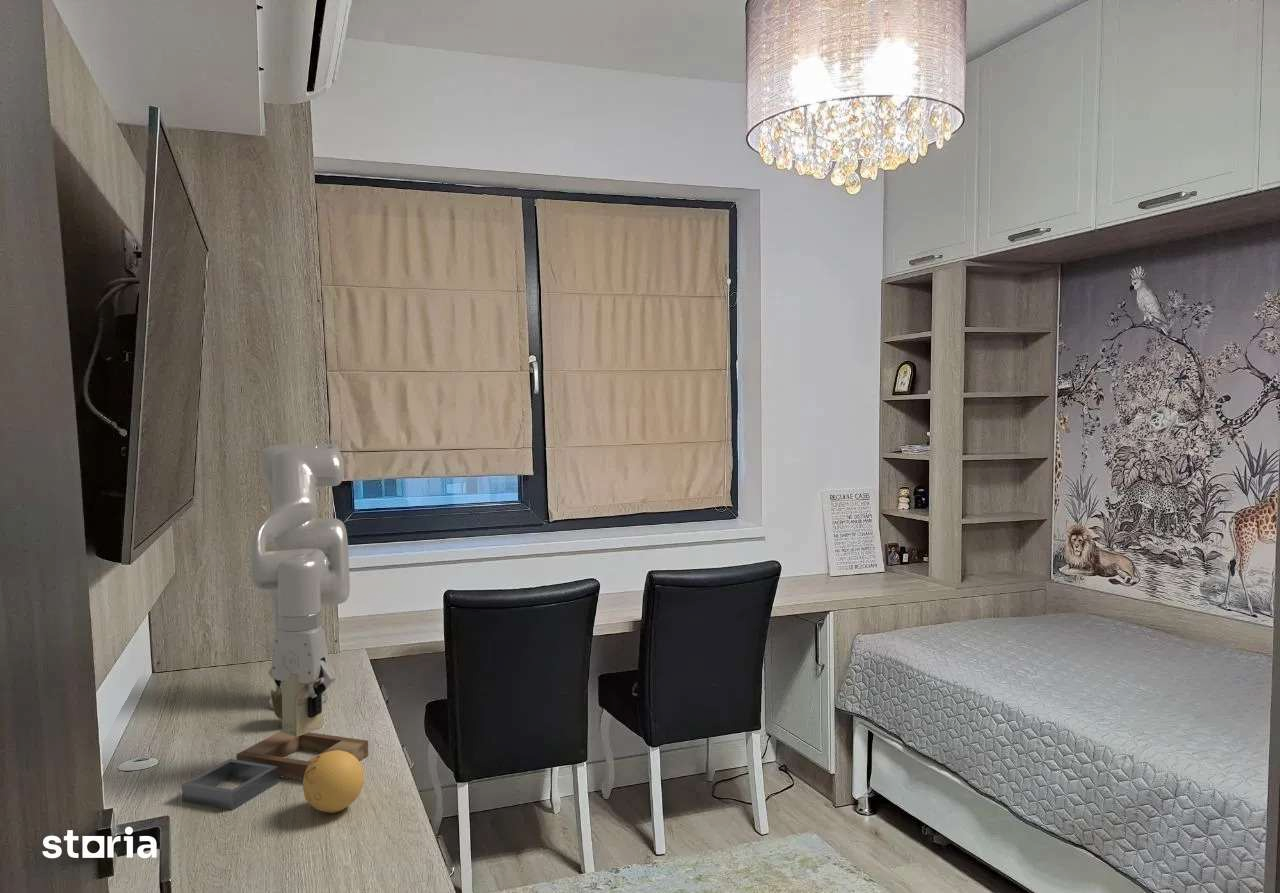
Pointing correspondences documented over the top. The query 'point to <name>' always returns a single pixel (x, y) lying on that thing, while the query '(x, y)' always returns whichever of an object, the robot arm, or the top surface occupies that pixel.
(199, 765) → the top surface
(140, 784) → the top surface
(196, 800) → the frame
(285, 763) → the wooden tray frame
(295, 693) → the skincare box
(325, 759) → the stress ball
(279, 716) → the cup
